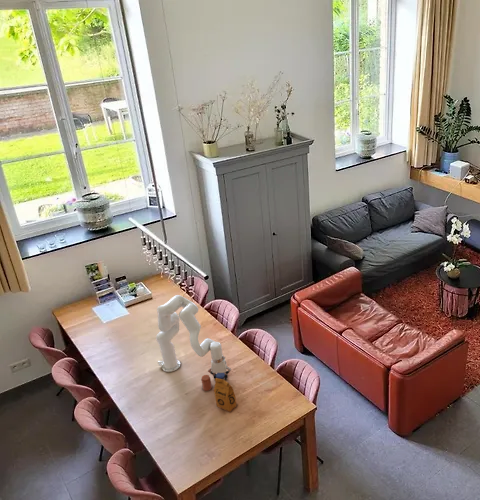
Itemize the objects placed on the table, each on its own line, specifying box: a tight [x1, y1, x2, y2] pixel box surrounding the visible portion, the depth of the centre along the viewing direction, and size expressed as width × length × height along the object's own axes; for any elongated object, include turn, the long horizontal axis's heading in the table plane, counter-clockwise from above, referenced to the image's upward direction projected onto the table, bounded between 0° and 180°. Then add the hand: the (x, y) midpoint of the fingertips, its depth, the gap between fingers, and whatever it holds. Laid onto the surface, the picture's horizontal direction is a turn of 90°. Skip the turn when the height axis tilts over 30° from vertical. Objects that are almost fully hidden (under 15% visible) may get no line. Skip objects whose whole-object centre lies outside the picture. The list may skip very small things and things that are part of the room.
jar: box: [200, 374, 213, 392], centre depth 357 cm, size 6×6×9 cm
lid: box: [216, 373, 225, 380], centre depth 365 cm, size 7×7×2 cm
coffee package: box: [213, 378, 237, 412], centre depth 339 cm, size 10×12×22 cm
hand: (220, 378), depth 366 cm, fingers closed on lid, 6 cm apart
